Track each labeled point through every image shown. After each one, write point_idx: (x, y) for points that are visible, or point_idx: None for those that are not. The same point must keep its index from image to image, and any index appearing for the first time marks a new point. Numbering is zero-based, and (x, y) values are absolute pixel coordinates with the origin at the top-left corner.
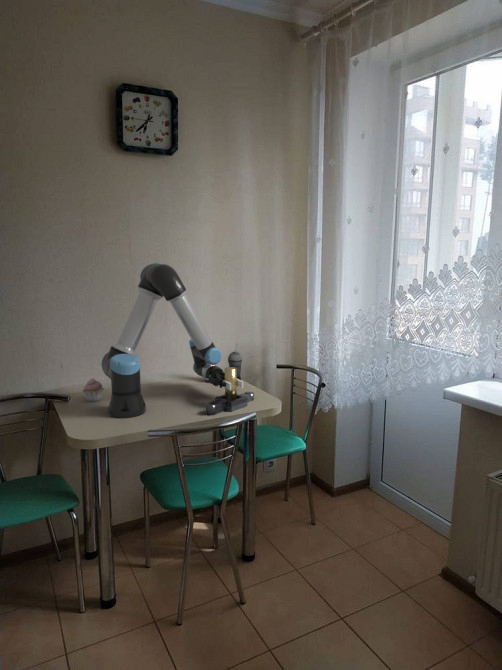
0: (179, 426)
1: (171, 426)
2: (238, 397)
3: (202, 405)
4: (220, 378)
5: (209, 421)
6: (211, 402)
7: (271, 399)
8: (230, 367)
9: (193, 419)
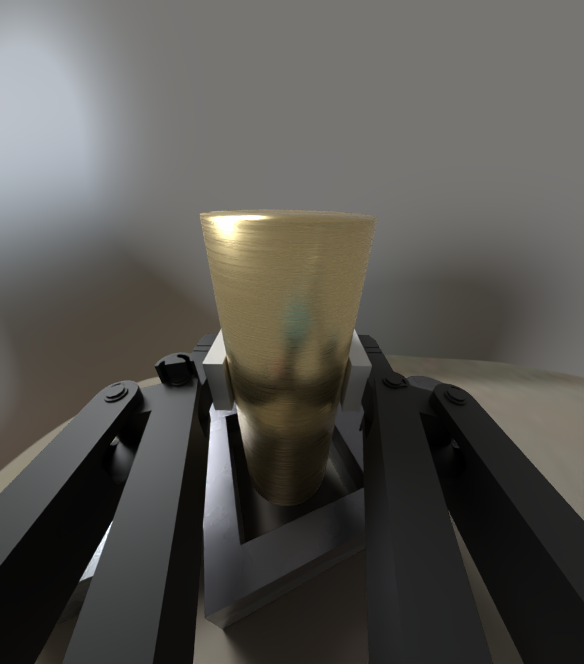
0: (524, 372)
1: (560, 382)
2: (230, 452)
3: (515, 656)
4: (390, 459)
5: (418, 367)
6: None
7: (18, 466)
8: (255, 217)
9: (490, 402)
